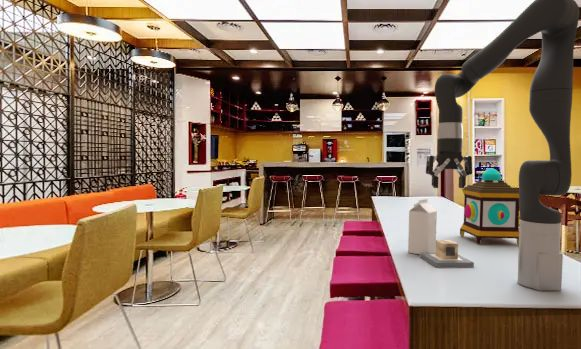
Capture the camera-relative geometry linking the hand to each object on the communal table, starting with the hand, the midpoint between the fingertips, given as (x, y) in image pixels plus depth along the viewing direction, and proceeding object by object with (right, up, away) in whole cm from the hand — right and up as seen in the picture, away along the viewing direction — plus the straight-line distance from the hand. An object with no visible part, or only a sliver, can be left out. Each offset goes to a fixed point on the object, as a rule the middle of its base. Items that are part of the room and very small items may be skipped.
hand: (448, 188), depth 123 cm
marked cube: (0, -23, +1) cm, 23 cm away
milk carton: (-4, -24, +13) cm, 27 cm away
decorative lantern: (+32, -23, +35) cm, 53 cm away
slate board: (0, -24, +1) cm, 24 cm away
